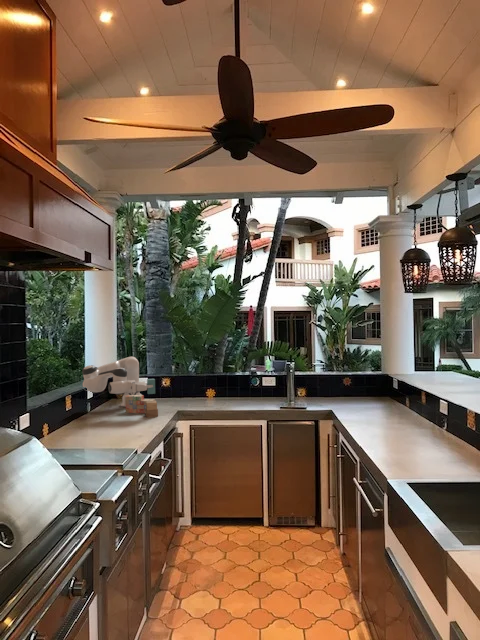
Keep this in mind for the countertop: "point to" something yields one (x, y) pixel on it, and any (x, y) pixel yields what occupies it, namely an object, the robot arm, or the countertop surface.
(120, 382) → the robot arm
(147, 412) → the tower base
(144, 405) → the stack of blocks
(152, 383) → the teal block
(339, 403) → the countertop surface
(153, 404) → the tower top
